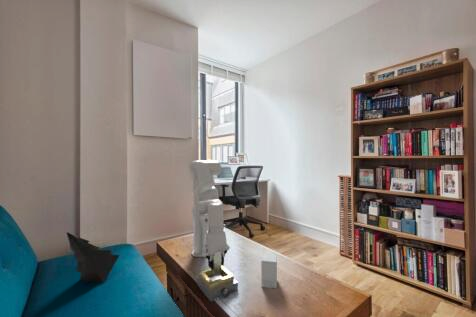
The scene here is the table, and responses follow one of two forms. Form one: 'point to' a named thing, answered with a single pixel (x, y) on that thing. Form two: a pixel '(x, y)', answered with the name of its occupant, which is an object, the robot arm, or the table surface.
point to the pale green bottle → (217, 263)
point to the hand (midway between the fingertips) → (216, 265)
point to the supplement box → (269, 271)
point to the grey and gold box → (216, 283)
